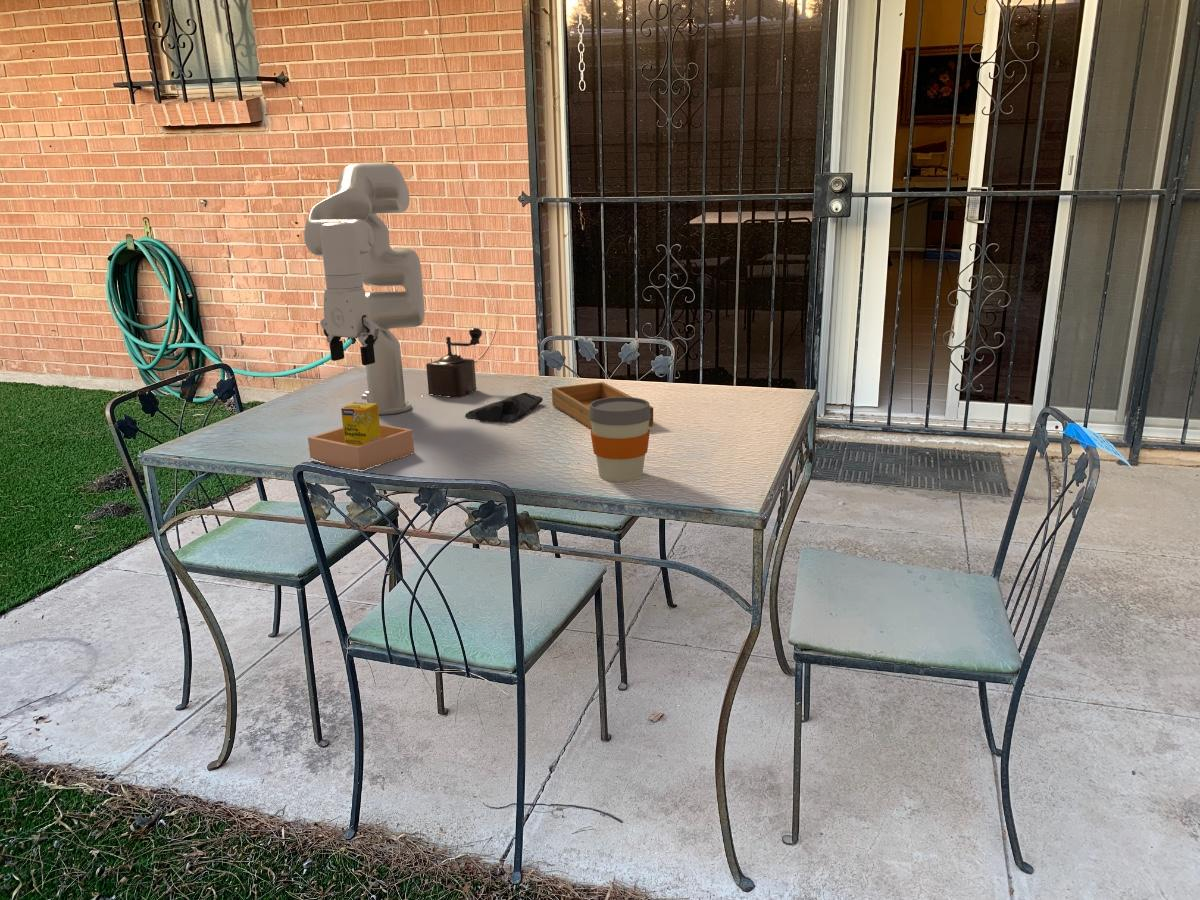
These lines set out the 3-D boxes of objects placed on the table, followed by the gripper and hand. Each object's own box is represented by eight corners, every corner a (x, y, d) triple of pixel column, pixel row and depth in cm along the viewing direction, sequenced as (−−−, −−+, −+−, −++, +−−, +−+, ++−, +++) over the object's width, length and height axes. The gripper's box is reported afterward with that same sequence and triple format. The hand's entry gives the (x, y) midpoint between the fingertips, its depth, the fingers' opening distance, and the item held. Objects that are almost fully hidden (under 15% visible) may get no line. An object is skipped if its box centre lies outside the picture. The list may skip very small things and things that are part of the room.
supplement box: (345, 456, 194) (340, 408, 191) (359, 448, 199) (353, 401, 196) (369, 457, 192) (364, 409, 189) (382, 449, 198) (378, 402, 195)
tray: (653, 427, 215) (653, 405, 214) (597, 435, 210) (596, 412, 208) (603, 401, 242) (603, 381, 241) (552, 408, 237) (551, 387, 235)
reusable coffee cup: (600, 463, 187) (598, 395, 183) (657, 467, 184) (657, 398, 179) (582, 482, 176) (580, 410, 172) (643, 486, 172) (642, 413, 168)
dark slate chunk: (552, 406, 239) (552, 389, 237) (509, 426, 220) (508, 407, 219) (505, 401, 246) (504, 385, 244) (459, 420, 227) (458, 402, 226)
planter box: (310, 461, 194) (307, 437, 192) (365, 443, 207) (363, 420, 205) (360, 472, 185) (357, 447, 184) (414, 453, 198) (412, 429, 196)
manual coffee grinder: (459, 398, 249) (455, 335, 243) (427, 395, 253) (422, 333, 248) (488, 386, 262) (484, 327, 257) (457, 384, 266) (453, 325, 261)
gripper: (303, 282, 186) (313, 361, 192) (358, 286, 177) (367, 369, 183) (331, 278, 192) (339, 355, 198) (386, 282, 183) (394, 362, 188)
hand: (353, 361), depth 190 cm, fingers open, 9 cm apart
